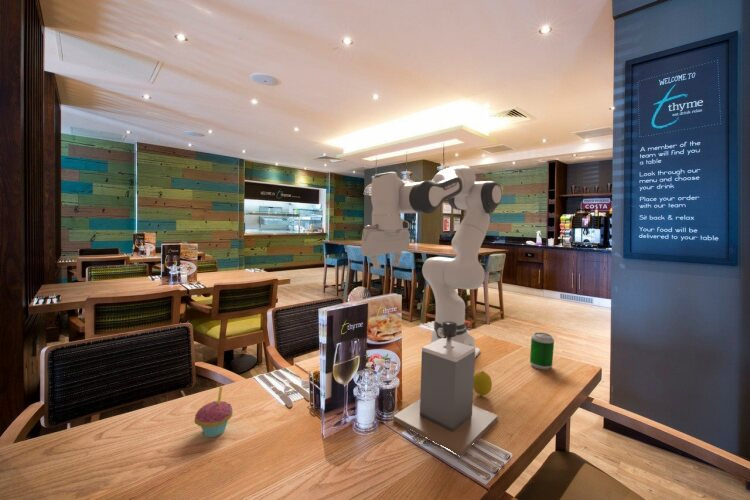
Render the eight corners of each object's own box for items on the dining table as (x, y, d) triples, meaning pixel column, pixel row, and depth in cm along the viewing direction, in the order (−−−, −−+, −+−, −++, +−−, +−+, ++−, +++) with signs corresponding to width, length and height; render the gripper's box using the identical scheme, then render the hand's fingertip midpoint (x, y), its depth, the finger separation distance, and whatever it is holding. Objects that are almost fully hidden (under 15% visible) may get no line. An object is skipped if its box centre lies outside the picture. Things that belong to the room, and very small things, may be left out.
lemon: (492, 402, 102) (493, 376, 101) (472, 399, 103) (474, 374, 102) (489, 392, 107) (491, 368, 106) (471, 390, 108) (472, 366, 107)
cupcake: (225, 417, 91) (224, 374, 90) (238, 432, 85) (237, 386, 84) (190, 431, 85) (188, 385, 84) (202, 447, 79) (200, 398, 78)
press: (434, 393, 106) (437, 329, 104) (497, 420, 92) (501, 347, 90) (393, 421, 91) (395, 346, 89) (460, 457, 78) (464, 371, 76)
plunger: (441, 400, 97) (444, 317, 94) (465, 411, 92) (470, 323, 89) (426, 411, 91) (429, 323, 89) (451, 423, 86) (455, 330, 84)
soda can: (556, 371, 123) (558, 339, 122) (535, 370, 123) (537, 338, 122) (545, 362, 131) (548, 331, 129) (526, 361, 131) (528, 331, 130)
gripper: (371, 225, 98) (372, 273, 99) (412, 223, 113) (413, 264, 114) (355, 225, 102) (356, 271, 103) (397, 223, 117) (398, 262, 119)
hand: (386, 267), depth 109 cm, fingers open, 8 cm apart
